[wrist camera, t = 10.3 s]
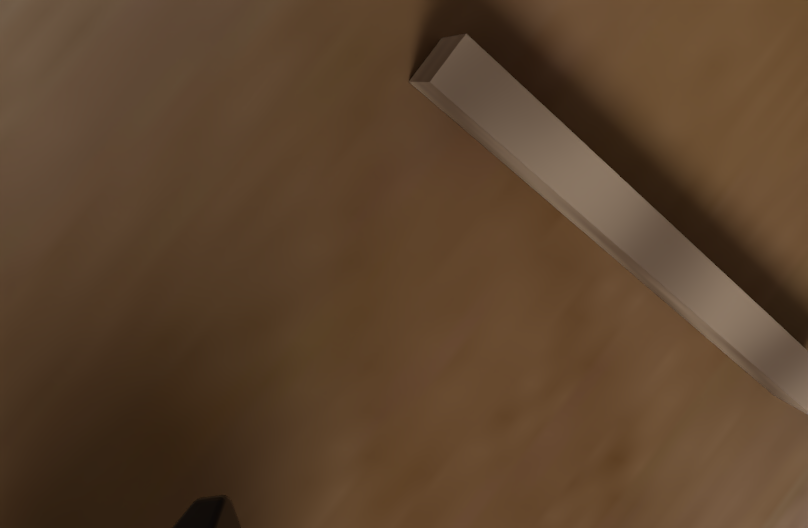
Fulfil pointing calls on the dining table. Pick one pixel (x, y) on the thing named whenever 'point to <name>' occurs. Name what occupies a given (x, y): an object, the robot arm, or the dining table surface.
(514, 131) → the guide channel
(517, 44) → the dining table surface
